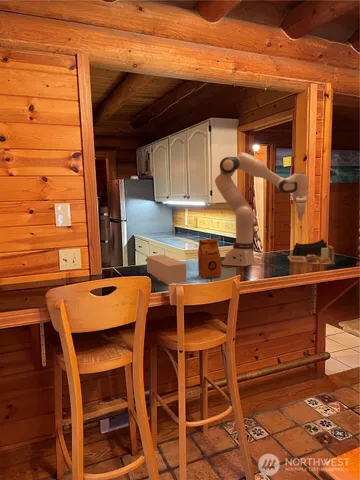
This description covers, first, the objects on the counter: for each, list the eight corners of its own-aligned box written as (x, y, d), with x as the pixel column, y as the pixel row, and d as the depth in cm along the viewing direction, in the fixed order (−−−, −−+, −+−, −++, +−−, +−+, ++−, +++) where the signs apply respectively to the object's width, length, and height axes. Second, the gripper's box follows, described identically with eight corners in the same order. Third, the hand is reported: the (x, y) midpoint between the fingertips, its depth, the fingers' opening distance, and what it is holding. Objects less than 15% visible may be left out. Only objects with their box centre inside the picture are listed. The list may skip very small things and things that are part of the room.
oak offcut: (308, 258, 211) (308, 255, 211) (306, 257, 215) (306, 254, 215) (316, 258, 211) (316, 255, 211) (314, 257, 215) (314, 254, 215)
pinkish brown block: (147, 273, 200) (146, 256, 198) (163, 271, 205) (162, 254, 203) (168, 286, 171) (168, 265, 170) (186, 283, 176) (186, 263, 175)
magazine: (292, 245, 232) (324, 231, 241) (289, 245, 235) (320, 230, 244) (297, 267, 236) (328, 252, 245) (294, 266, 239) (324, 251, 248)
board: (321, 262, 212) (321, 248, 210) (320, 261, 213) (321, 248, 212) (328, 262, 211) (328, 248, 210) (327, 261, 213) (327, 248, 211)
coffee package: (222, 278, 184) (222, 239, 181) (201, 279, 181) (200, 240, 178) (217, 273, 193) (216, 237, 190) (197, 275, 191) (196, 238, 188)
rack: (308, 265, 209) (308, 248, 207) (304, 261, 220) (305, 245, 218) (335, 265, 206) (335, 248, 205) (330, 262, 217) (330, 245, 215)
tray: (290, 263, 215) (290, 260, 215) (287, 259, 229) (287, 256, 228) (306, 263, 213) (306, 260, 213) (302, 259, 227) (302, 256, 227)
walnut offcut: (307, 262, 212) (307, 258, 211) (305, 261, 217) (305, 257, 216) (317, 262, 211) (317, 258, 210) (315, 261, 216) (315, 257, 215)
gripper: (294, 196, 221) (294, 216, 224) (296, 200, 201) (295, 222, 205) (304, 196, 219) (303, 216, 222) (307, 199, 200) (306, 222, 203)
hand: (300, 219), depth 213 cm, fingers open, 8 cm apart
